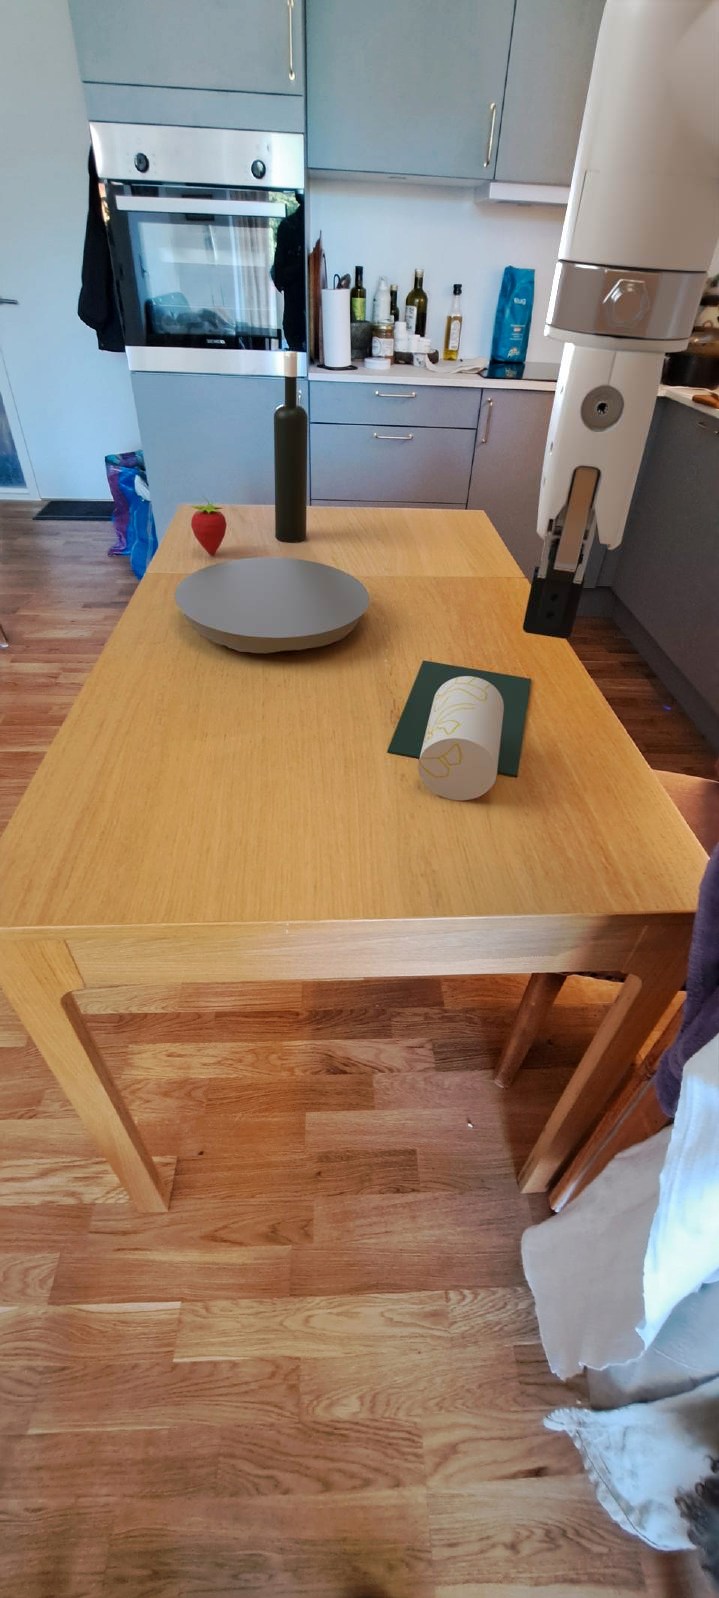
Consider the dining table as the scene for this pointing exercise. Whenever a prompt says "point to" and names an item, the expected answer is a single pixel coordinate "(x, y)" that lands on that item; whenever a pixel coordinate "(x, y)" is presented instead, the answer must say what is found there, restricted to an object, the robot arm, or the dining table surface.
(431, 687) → the mat
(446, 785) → the cup
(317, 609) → the flat disc
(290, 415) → the wine bottle
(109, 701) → the dining table surface
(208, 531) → the strawberry
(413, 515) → the dining table surface
